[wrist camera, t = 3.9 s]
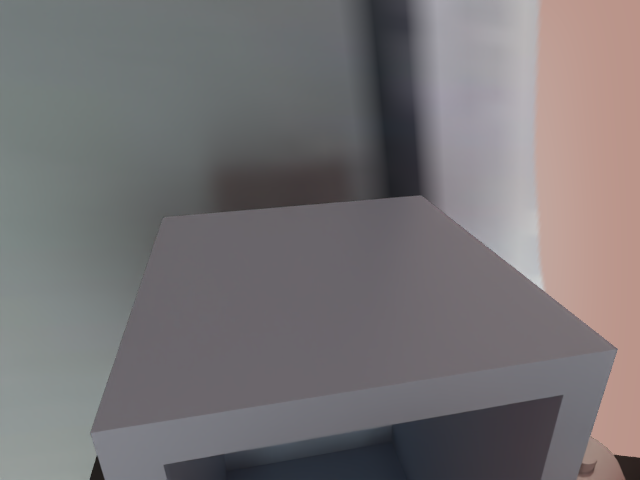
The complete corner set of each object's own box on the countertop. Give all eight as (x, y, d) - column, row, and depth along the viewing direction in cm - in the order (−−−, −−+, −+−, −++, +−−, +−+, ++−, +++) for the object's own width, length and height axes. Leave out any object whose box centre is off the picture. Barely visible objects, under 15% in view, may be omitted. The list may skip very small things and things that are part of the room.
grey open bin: (162, 217, 10) (89, 433, 4) (421, 195, 11) (617, 349, 5) (207, 471, 13) (196, 773, 8) (402, 436, 14) (512, 681, 9)
